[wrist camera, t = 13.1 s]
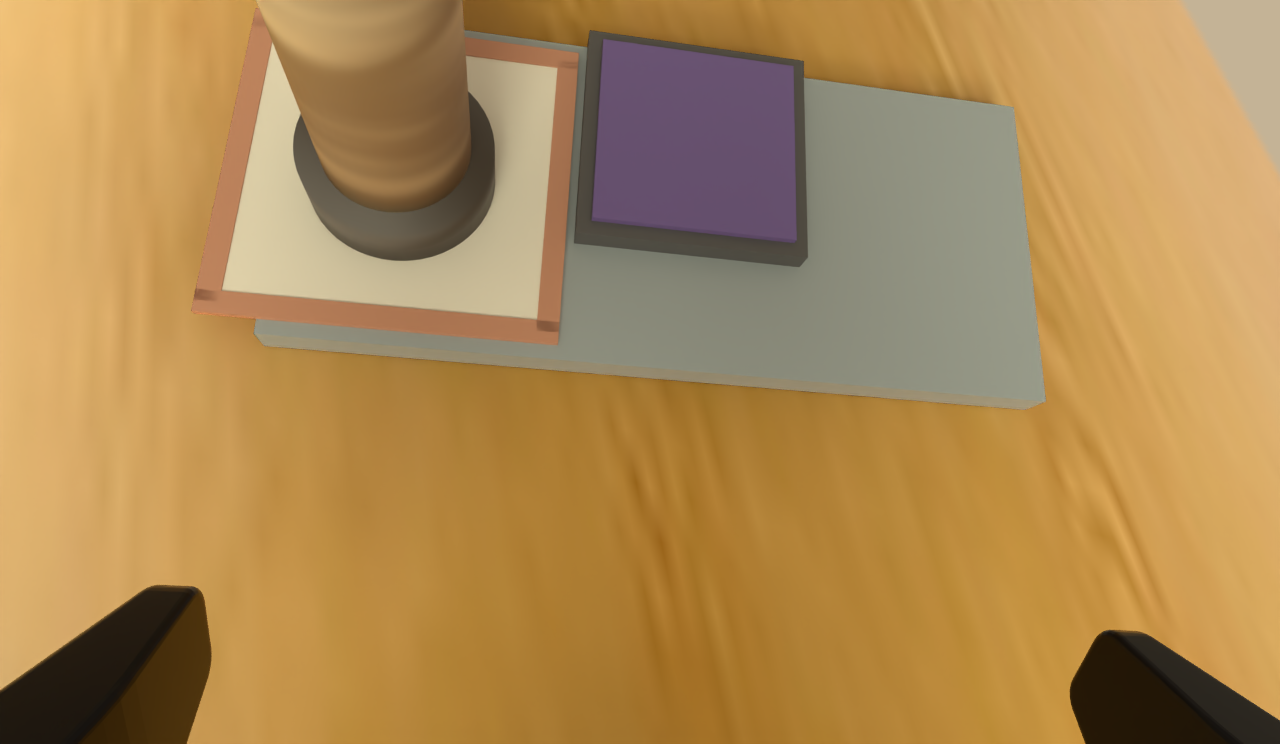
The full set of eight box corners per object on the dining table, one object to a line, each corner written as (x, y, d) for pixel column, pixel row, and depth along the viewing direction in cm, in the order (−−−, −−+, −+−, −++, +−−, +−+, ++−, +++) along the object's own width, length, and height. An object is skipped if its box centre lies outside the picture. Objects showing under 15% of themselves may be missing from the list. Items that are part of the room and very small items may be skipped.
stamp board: (204, 340, 22) (177, 315, 20) (269, 23, 24) (251, -24, 23) (1025, 409, 25) (1065, 393, 23) (995, 123, 28) (1030, 89, 26)
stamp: (427, 294, 22) (329, -127, 9) (267, 196, 22) (-38, -352, 9) (529, 159, 23) (561, -352, 11) (381, 67, 23) (247, -542, 11)
